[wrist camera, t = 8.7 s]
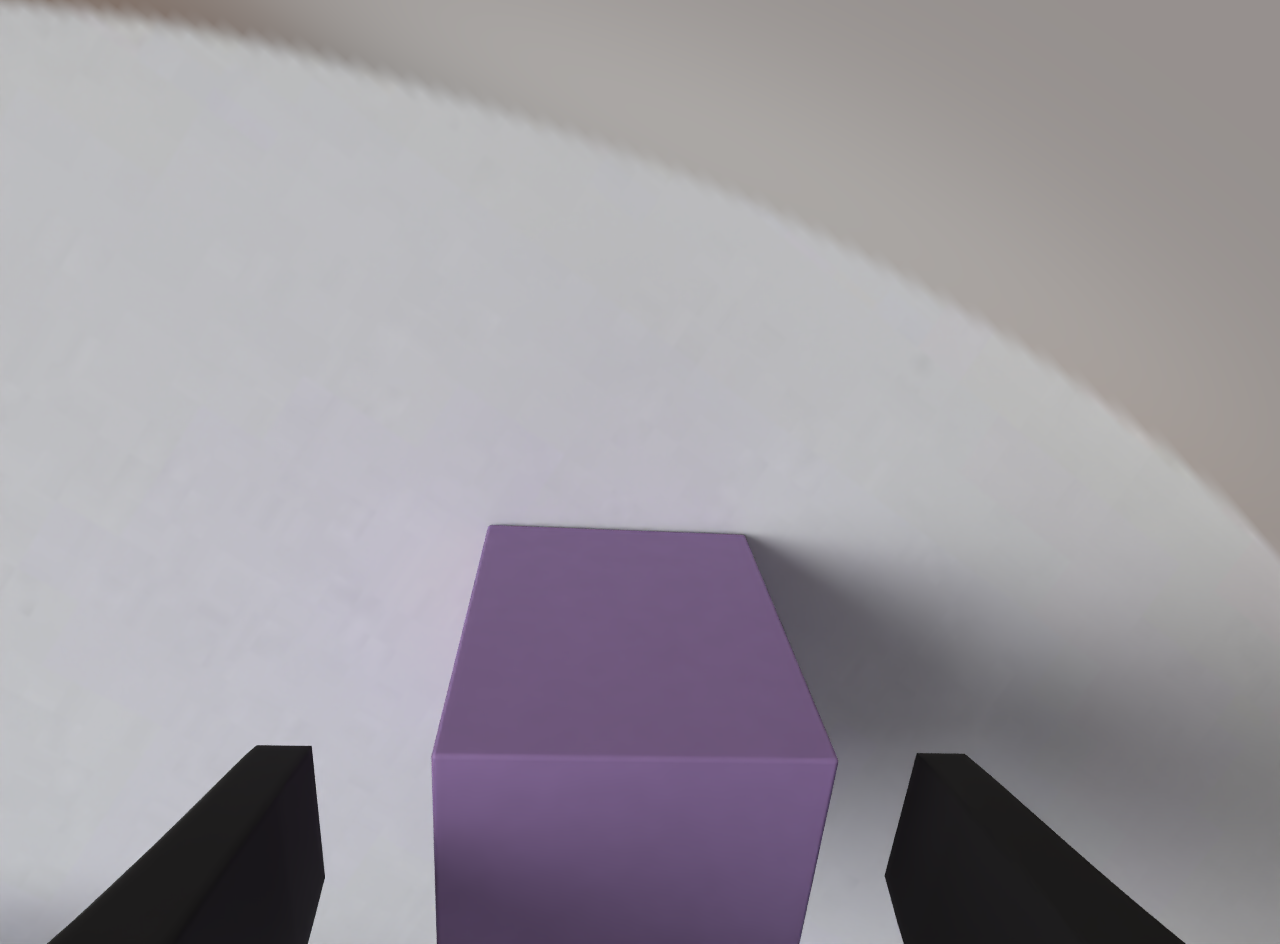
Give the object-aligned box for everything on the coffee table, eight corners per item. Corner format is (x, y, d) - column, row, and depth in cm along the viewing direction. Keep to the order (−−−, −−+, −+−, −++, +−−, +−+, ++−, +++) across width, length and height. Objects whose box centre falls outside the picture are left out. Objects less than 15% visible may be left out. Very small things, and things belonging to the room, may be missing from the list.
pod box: (745, 533, 12) (840, 761, 8) (717, 737, 14) (783, 1028, 9) (488, 523, 12) (429, 756, 8) (487, 733, 14) (438, 1034, 9)
